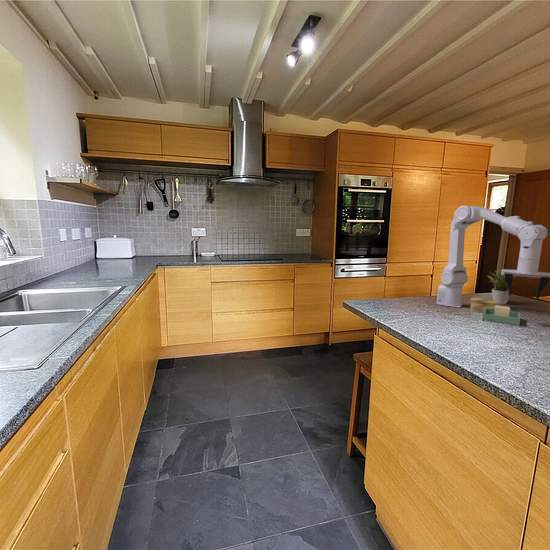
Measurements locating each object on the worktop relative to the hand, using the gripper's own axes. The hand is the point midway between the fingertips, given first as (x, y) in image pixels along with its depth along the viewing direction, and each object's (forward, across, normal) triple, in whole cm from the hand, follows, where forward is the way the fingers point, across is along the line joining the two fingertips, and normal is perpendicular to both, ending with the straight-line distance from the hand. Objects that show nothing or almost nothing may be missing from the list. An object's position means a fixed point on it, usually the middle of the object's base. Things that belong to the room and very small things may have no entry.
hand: (523, 296), depth 108 cm
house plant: (+11, -6, +35) cm, 37 cm away
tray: (+10, -6, +2) cm, 12 cm away
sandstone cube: (+10, -6, +2) cm, 12 cm away
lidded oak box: (+10, -12, +11) cm, 19 cm away
